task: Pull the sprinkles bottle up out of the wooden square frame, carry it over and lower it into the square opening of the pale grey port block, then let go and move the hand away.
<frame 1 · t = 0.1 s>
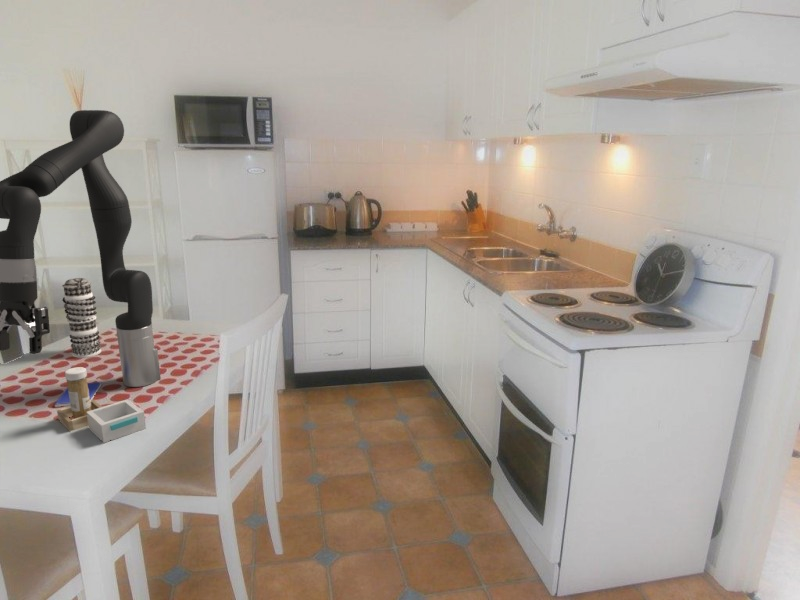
hand: (19, 351, 122), 22 cm above the table, tool pointing down, fingers open, 8 cm apart
decorative candle: (87, 353, 183), on the table
port block: (117, 428, 135), on the table
sprinkles bottle: (83, 420, 139), resting in wooden square frame
wooden square frame: (83, 419, 139), on the table
hard drive: (79, 398, 152), on the table
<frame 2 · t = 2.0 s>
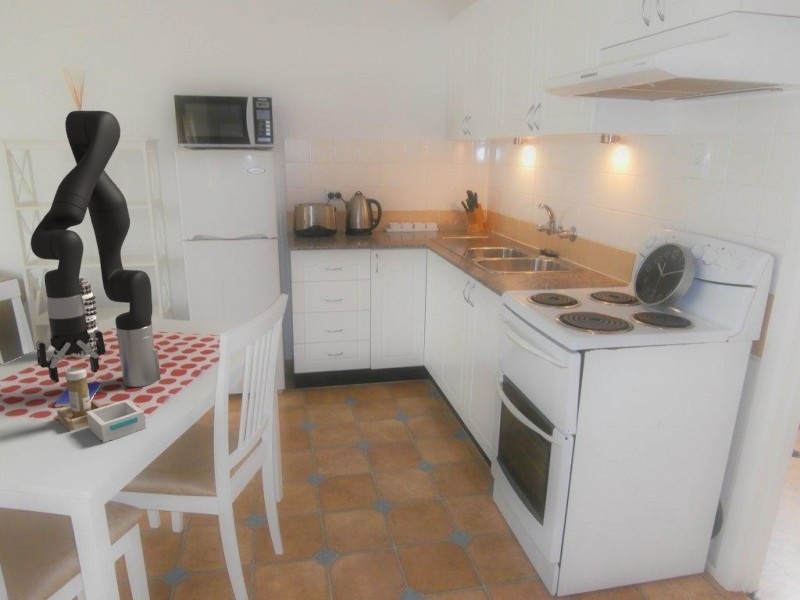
hand: (75, 376, 136), 12 cm above the table, tool pointing down, fingers open, 8 cm apart
nothing on the table moved.
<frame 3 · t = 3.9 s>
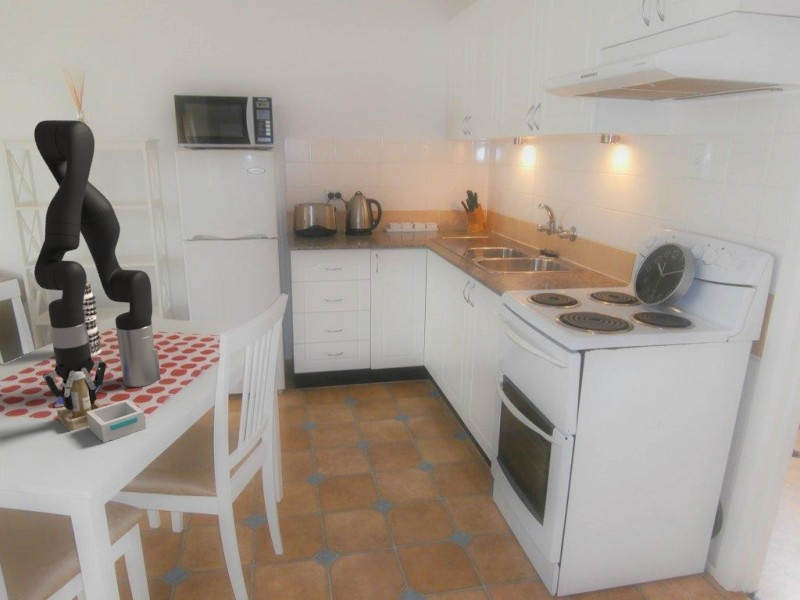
hand: (80, 405, 138), 4 cm above the table, tool pointing down, fingers closed on sprinkles bottle, 4 cm apart
sprinkles bottle: (83, 420, 139), resting in wooden square frame, touching gripper
everything else where it was.
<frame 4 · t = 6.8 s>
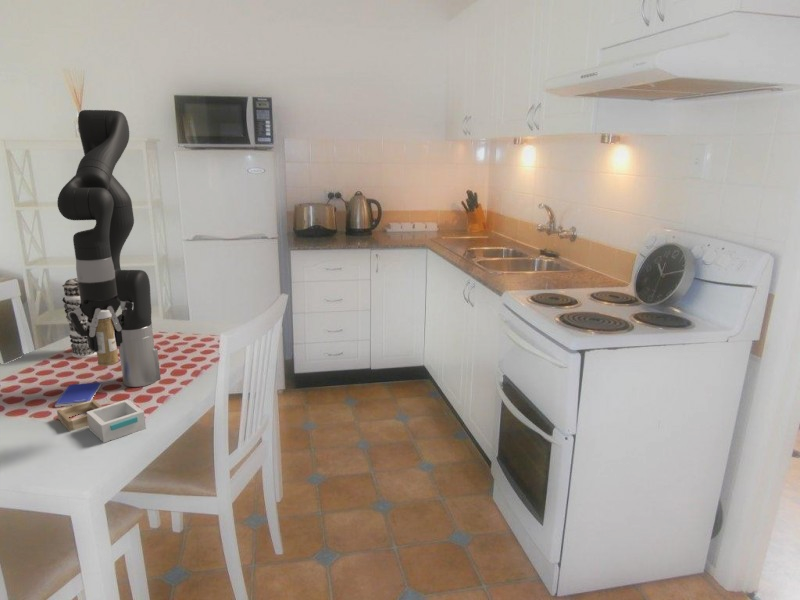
hand: (106, 347, 129), 21 cm above the table, tool pointing down, fingers closed on sprinkles bottle, 4 cm apart
sprinkles bottle: (108, 363, 130), point 17 cm above the table, touching gripper
everything else where it was.
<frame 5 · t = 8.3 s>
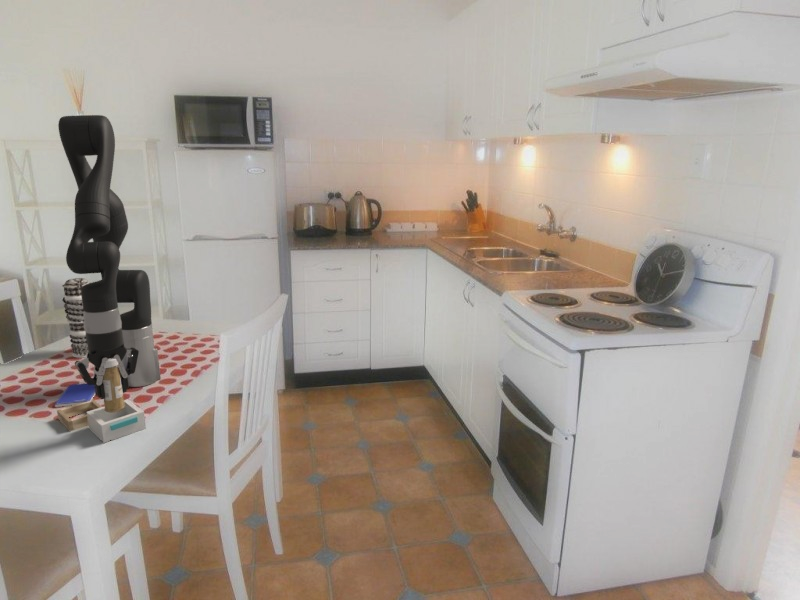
hand: (112, 394, 132), 9 cm above the table, tool pointing down, fingers closed on sprinkles bottle, 4 cm apart
sprinkles bottle: (114, 409, 133), point 5 cm above the table, touching gripper
everything else where it was.
when the fingers open (6 cm above the table, at t = 9.7 s): sprinkles bottle drops 2 cm, resting in port block.
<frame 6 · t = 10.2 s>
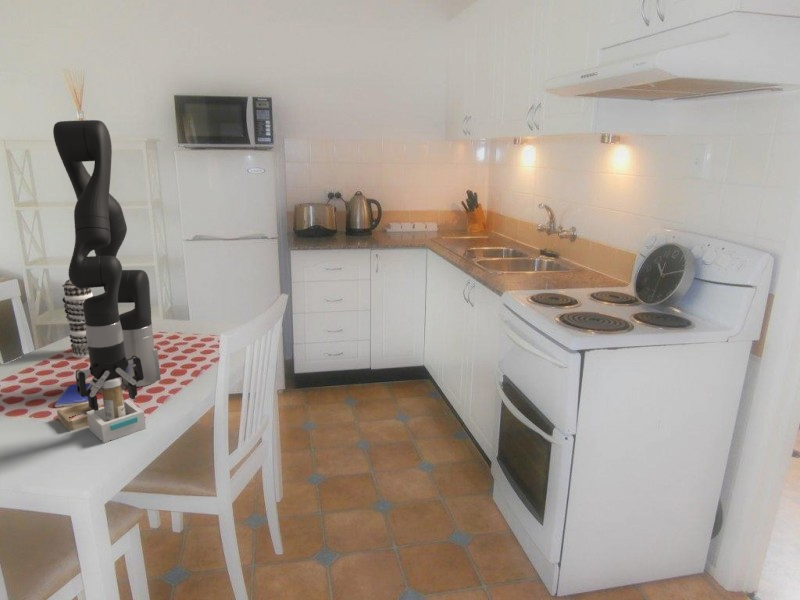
hand: (114, 403, 133), 7 cm above the table, tool pointing down, fingers open, 8 cm apart
sprinkles bottle: (117, 429, 135), resting in port block
everything else where it was.
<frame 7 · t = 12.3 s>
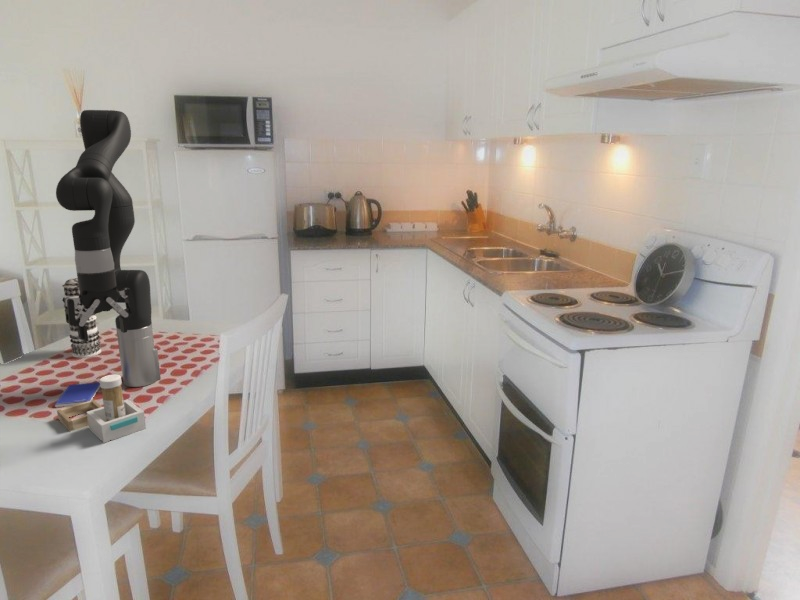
hand: (104, 336, 128), 24 cm above the table, tool pointing down, fingers open, 8 cm apart
nothing on the table moved.
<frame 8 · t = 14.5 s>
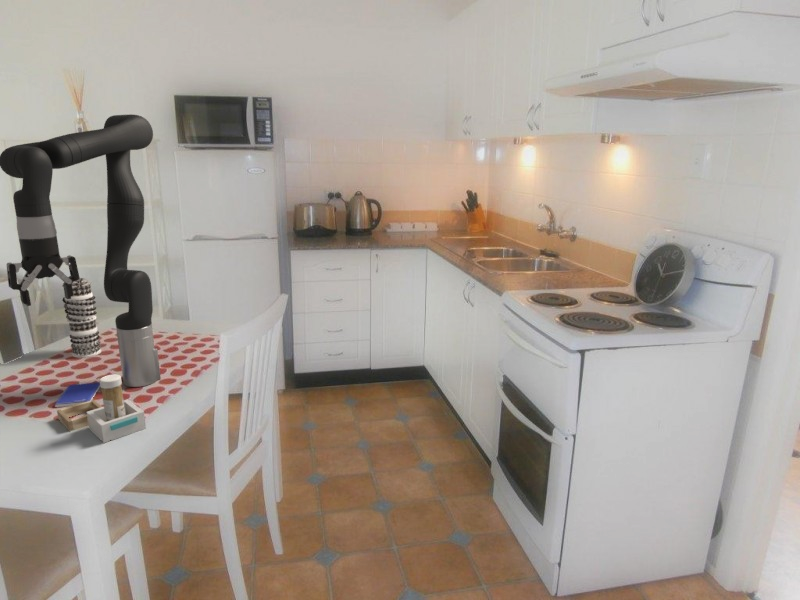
hand: (48, 301, 133), 30 cm above the table, tool pointing down, fingers open, 8 cm apart
nothing on the table moved.
at the end: sprinkles bottle 0.1 cm off-centre on the port block, point 0.0 cm above the port block's base; sprinkles bottle tilted 0°; the gripper is holding nothing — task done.
